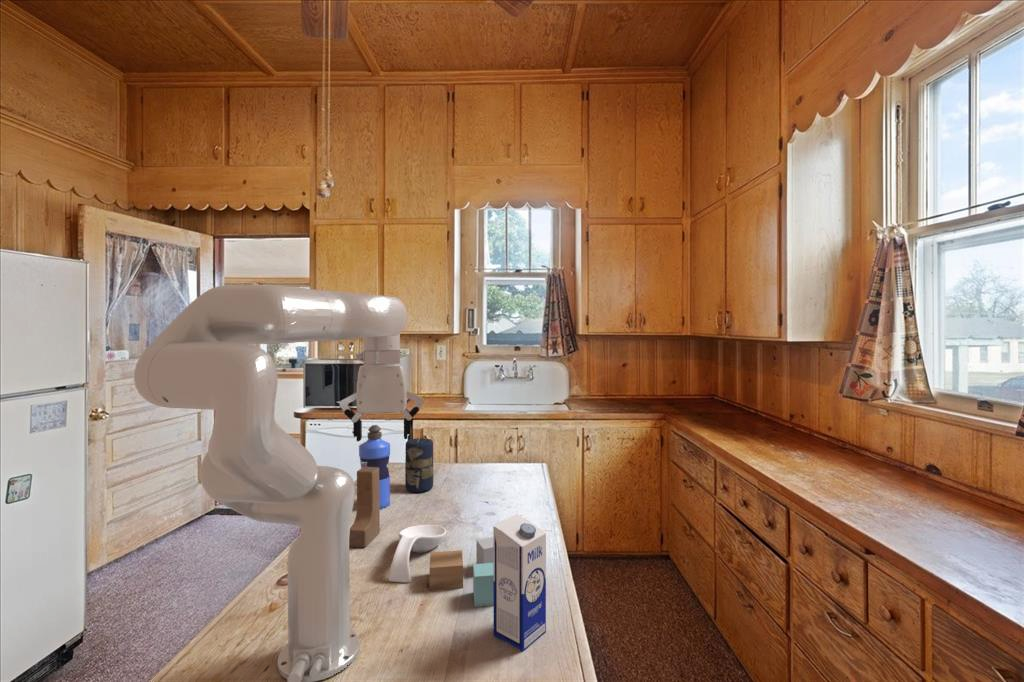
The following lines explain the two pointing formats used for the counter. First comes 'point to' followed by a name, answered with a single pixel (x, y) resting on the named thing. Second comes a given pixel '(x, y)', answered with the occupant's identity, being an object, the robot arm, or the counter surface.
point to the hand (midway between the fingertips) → (382, 438)
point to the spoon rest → (413, 548)
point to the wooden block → (366, 508)
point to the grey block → (484, 550)
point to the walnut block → (446, 570)
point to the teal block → (483, 584)
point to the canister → (419, 465)
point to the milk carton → (519, 581)
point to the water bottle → (377, 461)
